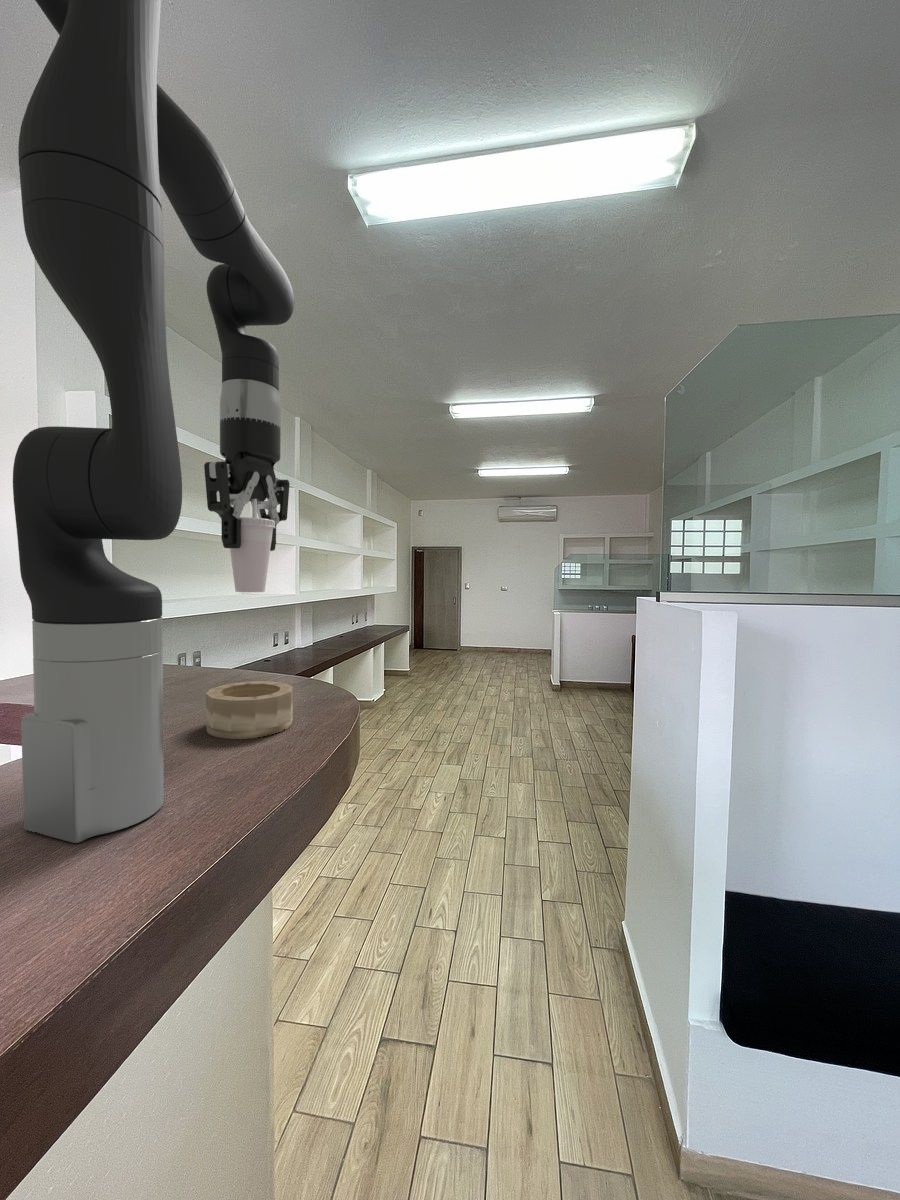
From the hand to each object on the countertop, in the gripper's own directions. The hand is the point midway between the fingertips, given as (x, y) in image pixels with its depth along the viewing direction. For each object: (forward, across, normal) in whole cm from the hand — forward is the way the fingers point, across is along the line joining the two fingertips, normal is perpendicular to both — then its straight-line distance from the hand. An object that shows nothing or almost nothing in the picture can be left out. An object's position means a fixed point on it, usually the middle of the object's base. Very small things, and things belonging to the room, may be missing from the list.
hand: (250, 549), depth 69 cm
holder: (+24, 0, 0) cm, 24 cm away
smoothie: (+6, 0, 0) cm, 6 cm away
